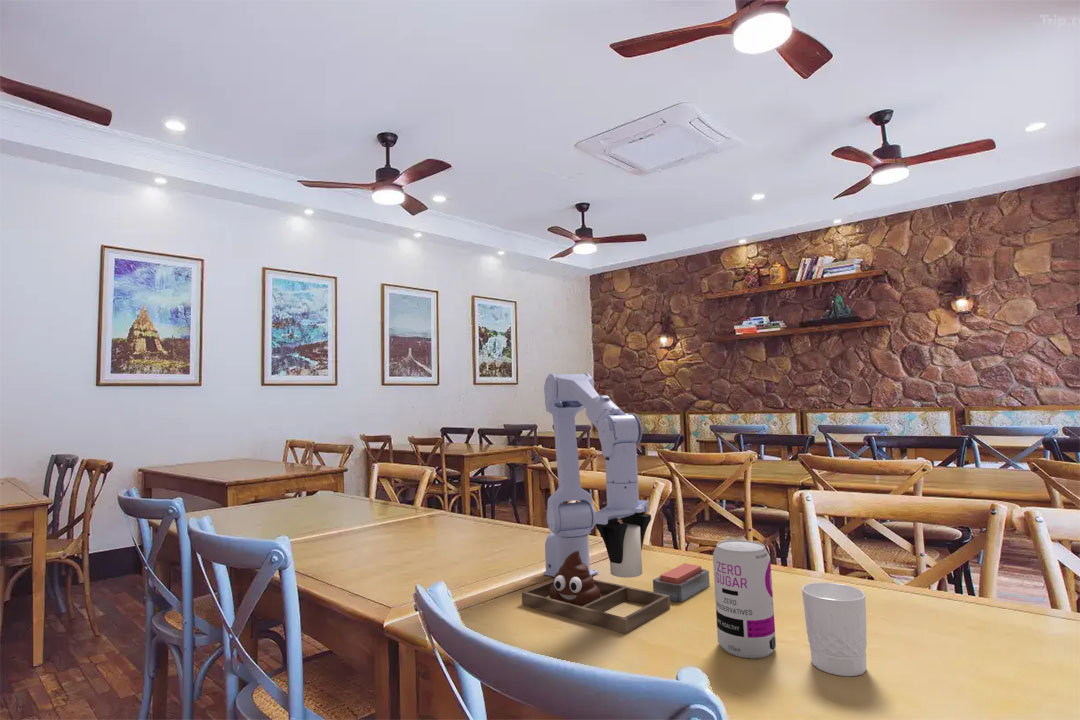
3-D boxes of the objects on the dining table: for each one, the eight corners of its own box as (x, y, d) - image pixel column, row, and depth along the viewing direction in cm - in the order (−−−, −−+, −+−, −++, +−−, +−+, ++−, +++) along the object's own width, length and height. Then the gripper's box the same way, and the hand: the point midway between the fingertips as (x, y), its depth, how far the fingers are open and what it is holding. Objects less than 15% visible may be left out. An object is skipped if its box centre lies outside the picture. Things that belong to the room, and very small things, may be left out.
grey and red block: (652, 596, 109) (651, 580, 109) (683, 580, 118) (682, 565, 118) (681, 602, 105) (680, 586, 105) (710, 585, 114) (709, 570, 114)
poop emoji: (606, 596, 110) (604, 547, 111) (591, 611, 102) (589, 558, 103) (559, 591, 114) (557, 543, 115) (541, 605, 107) (539, 554, 107)
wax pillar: (604, 573, 101) (602, 528, 102) (622, 566, 105) (620, 522, 106) (631, 579, 97) (628, 531, 98) (648, 571, 101) (646, 525, 102)
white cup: (795, 655, 82) (790, 584, 83) (847, 651, 83) (842, 580, 83) (827, 681, 74) (822, 602, 75) (884, 676, 75) (878, 598, 76)
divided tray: (522, 604, 107) (521, 592, 107) (570, 584, 118) (569, 574, 118) (626, 633, 92) (625, 619, 92) (670, 608, 102) (669, 595, 102)
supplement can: (774, 640, 87) (767, 540, 89) (778, 663, 80) (770, 553, 81) (719, 634, 90) (713, 538, 91) (717, 657, 82) (711, 550, 83)
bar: (660, 591, 109) (660, 575, 109) (685, 578, 116) (684, 563, 117) (678, 594, 107) (677, 578, 107) (702, 581, 114) (701, 566, 114)
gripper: (618, 488, 94) (622, 572, 93) (661, 477, 105) (665, 553, 104) (584, 485, 99) (587, 565, 98) (629, 475, 110) (632, 547, 109)
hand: (625, 558), depth 101 cm, fingers closed on wax pillar, 6 cm apart
